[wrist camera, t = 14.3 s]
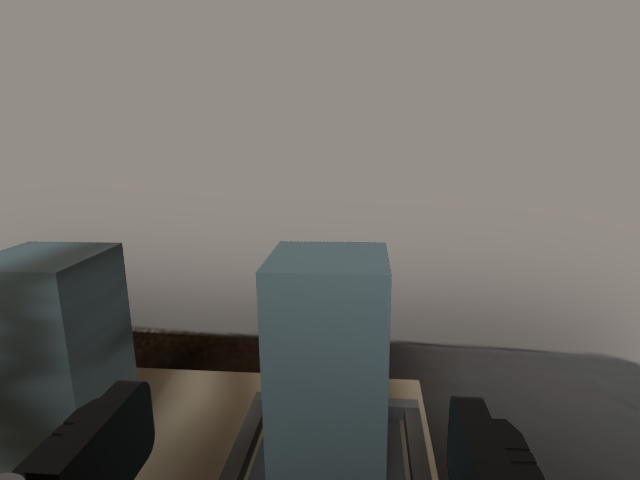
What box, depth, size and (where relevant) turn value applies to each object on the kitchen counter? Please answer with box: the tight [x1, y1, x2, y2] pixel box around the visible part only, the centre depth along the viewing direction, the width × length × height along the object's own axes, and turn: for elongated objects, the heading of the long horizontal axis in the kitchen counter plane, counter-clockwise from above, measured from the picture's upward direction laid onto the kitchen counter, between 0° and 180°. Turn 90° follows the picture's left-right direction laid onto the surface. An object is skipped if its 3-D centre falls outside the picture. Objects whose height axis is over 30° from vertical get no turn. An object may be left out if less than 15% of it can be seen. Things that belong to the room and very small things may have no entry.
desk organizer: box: [0, 242, 439, 480], centre depth 21 cm, size 23×16×12 cm
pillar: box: [256, 241, 392, 480], centre depth 20 cm, size 5×5×10 cm
